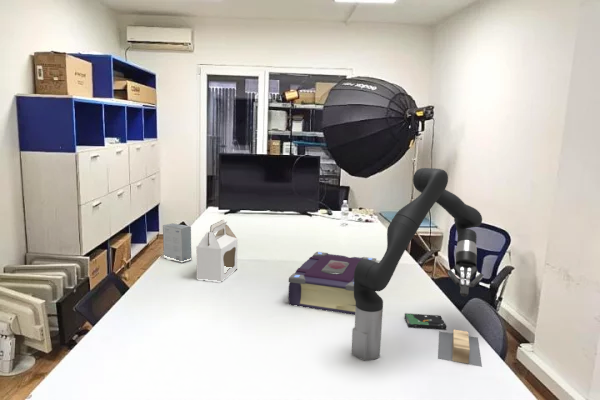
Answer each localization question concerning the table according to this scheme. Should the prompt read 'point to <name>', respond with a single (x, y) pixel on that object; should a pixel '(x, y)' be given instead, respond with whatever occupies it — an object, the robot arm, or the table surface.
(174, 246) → the hard drive box
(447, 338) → the rubber mat
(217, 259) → the gable box
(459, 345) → the oak block
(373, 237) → the table surface
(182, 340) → the table surface
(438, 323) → the disk drive
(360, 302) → the robot arm
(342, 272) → the book
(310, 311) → the table surface
